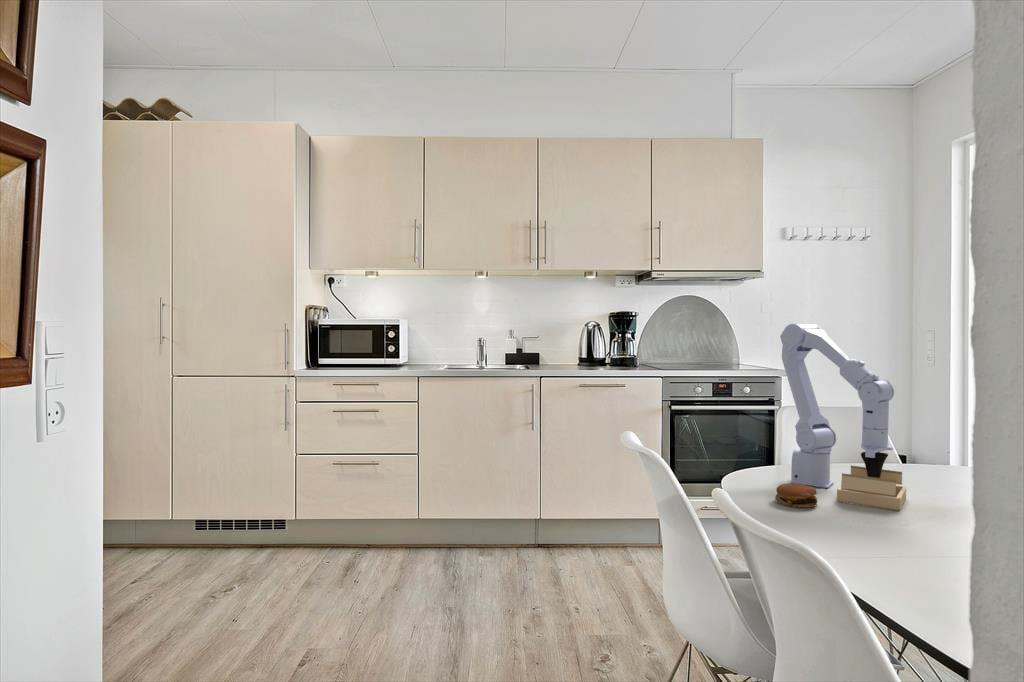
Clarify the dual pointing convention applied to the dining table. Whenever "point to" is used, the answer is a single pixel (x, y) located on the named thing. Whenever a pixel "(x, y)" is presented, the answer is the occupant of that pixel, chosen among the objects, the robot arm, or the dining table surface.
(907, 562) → the dining table surface
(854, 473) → the flap
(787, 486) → the burger
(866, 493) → the carton
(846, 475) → the flap
